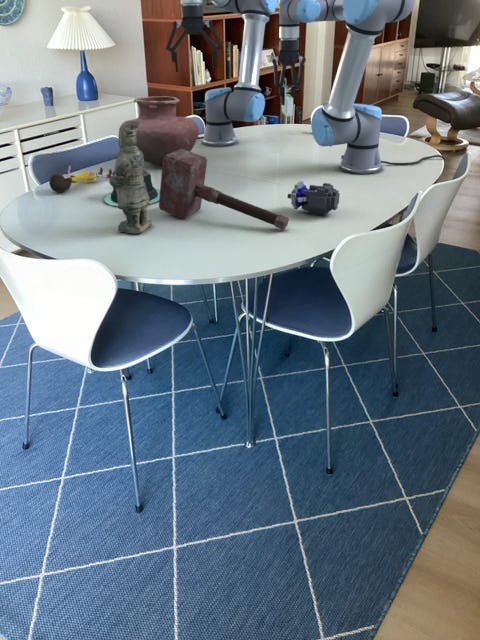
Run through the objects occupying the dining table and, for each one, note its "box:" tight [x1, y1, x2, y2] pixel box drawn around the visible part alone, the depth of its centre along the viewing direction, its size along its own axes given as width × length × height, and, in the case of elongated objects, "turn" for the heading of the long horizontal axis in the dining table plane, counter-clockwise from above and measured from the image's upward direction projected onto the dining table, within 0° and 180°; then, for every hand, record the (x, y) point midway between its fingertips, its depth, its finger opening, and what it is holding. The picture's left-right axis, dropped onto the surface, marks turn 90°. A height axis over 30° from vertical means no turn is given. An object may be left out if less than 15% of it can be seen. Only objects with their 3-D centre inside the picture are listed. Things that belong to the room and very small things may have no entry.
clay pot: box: [118, 95, 200, 166], centre depth 218 cm, size 30×30×25 cm
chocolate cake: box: [103, 168, 160, 207], centre depth 186 cm, size 15×19×20 cm
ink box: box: [281, 76, 294, 118], centre depth 221 cm, size 3×10×14 cm, turn 4°
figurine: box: [48, 164, 113, 193], centre depth 199 cm, size 13×8×25 cm
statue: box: [108, 121, 153, 235], centre depth 154 cm, size 11×9×30 cm
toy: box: [287, 180, 341, 216], centre depth 168 cm, size 9×9×15 cm
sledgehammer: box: [158, 149, 290, 231], centre depth 163 cm, size 17×10×40 cm
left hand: (195, 71), depth 204 cm, fingers open, 13 cm apart
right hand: (287, 104), depth 223 cm, fingers closed on ink box, 3 cm apart
